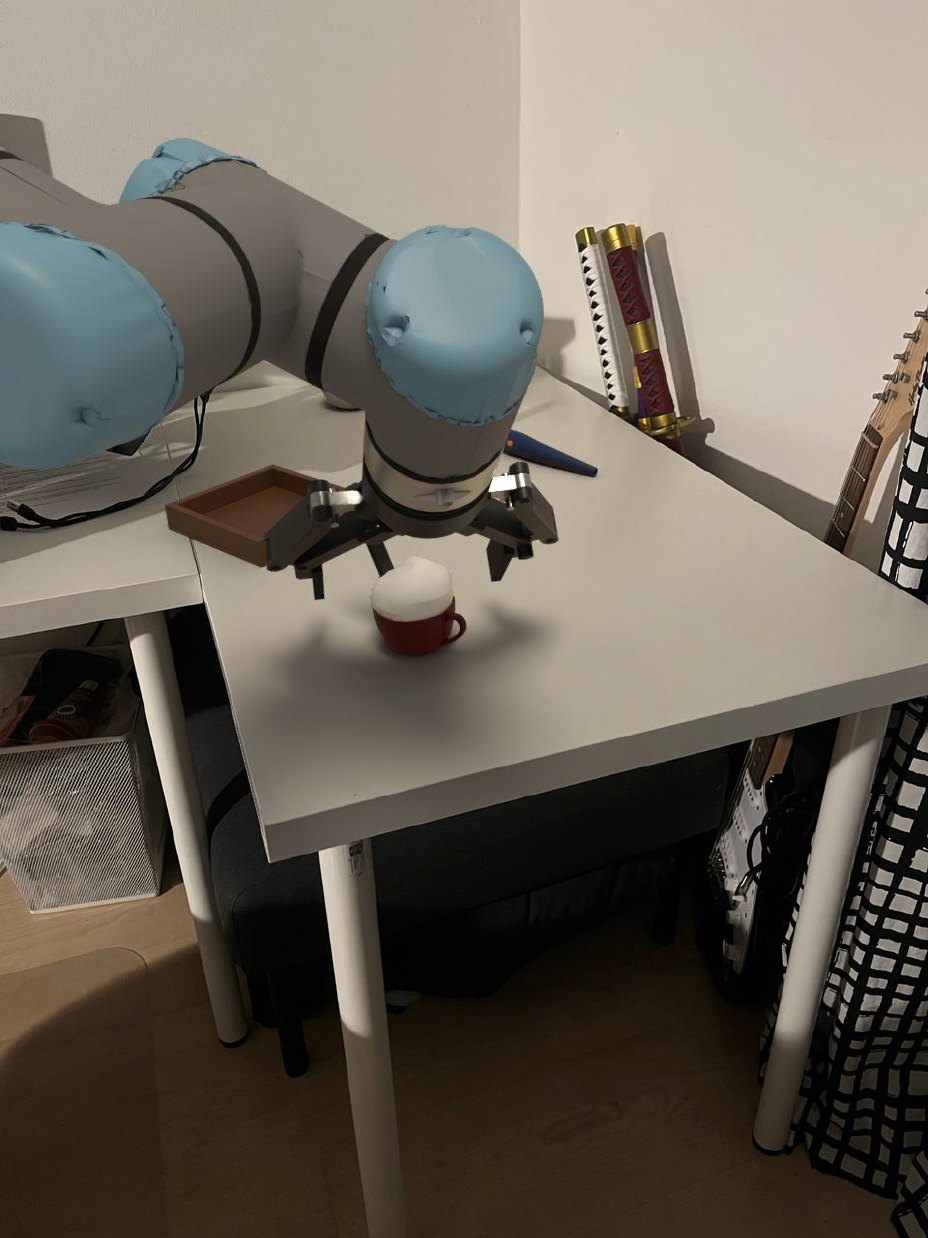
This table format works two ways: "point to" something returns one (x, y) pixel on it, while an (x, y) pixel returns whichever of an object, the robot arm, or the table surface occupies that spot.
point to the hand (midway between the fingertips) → (406, 573)
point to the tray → (240, 511)
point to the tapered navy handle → (545, 454)
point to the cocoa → (413, 602)
